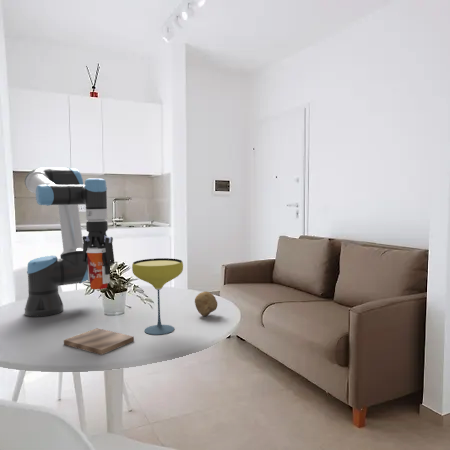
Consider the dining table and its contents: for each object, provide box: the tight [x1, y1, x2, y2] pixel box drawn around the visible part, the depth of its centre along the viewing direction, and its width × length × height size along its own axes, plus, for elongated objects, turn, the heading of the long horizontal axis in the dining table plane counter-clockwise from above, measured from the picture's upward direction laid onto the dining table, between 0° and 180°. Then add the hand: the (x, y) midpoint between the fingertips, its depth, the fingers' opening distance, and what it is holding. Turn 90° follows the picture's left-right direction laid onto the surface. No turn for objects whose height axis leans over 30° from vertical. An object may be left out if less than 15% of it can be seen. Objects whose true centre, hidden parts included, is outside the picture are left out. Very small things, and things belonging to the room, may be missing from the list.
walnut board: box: [63, 327, 135, 356], centre depth 137 cm, size 18×14×2 cm
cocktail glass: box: [131, 257, 184, 336], centre depth 149 cm, size 18×18×25 cm
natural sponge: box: [194, 291, 218, 317], centre depth 166 cm, size 9×9×10 cm
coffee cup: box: [86, 247, 108, 290], centre depth 153 cm, size 8×8×15 cm
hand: (98, 281), depth 153 cm, fingers closed on coffee cup, 7 cm apart
